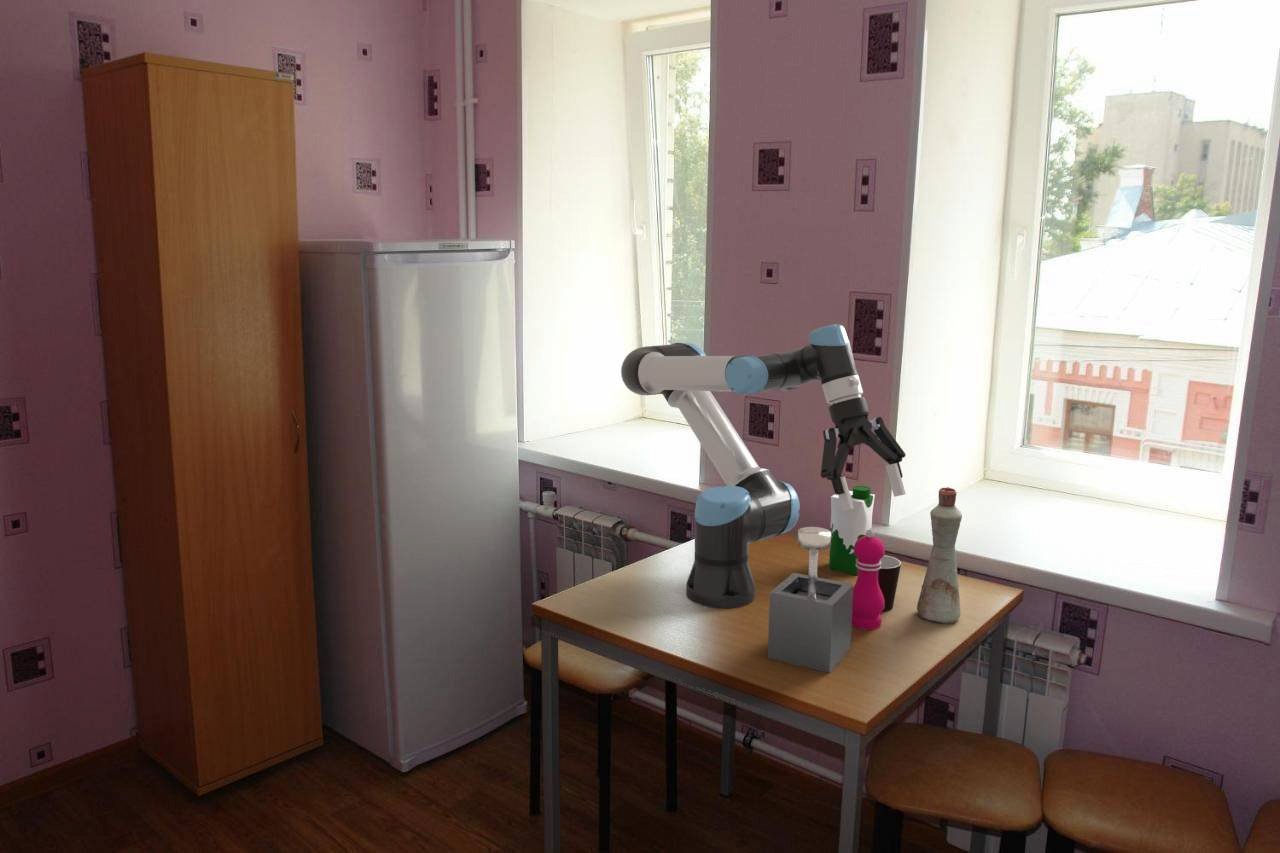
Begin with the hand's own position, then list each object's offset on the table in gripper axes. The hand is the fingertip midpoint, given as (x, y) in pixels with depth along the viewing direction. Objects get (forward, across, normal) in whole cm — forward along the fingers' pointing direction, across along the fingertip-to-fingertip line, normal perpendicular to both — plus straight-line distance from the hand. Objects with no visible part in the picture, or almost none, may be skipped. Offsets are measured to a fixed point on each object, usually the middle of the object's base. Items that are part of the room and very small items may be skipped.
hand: (874, 502), depth 189 cm
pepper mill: (+24, -4, +9) cm, 25 cm away
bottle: (+26, +12, +5) cm, 30 cm away
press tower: (+24, -22, +3) cm, 33 cm away
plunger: (+15, -22, -1) cm, 27 cm away
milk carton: (+15, +15, +34) cm, 40 cm away
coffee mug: (+22, +6, +16) cm, 27 cm away
